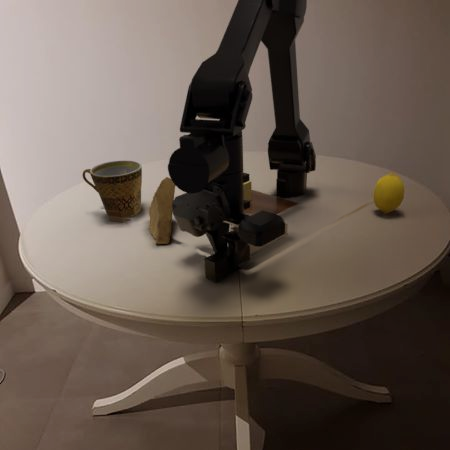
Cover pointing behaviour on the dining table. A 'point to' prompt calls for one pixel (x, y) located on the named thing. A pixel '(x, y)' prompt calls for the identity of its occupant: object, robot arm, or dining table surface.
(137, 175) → the ceramic cup
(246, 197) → the butter slice
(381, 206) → the lemon
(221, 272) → the knife
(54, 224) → the dining table surface
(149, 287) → the dining table surface
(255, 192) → the butter board
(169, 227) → the rock
